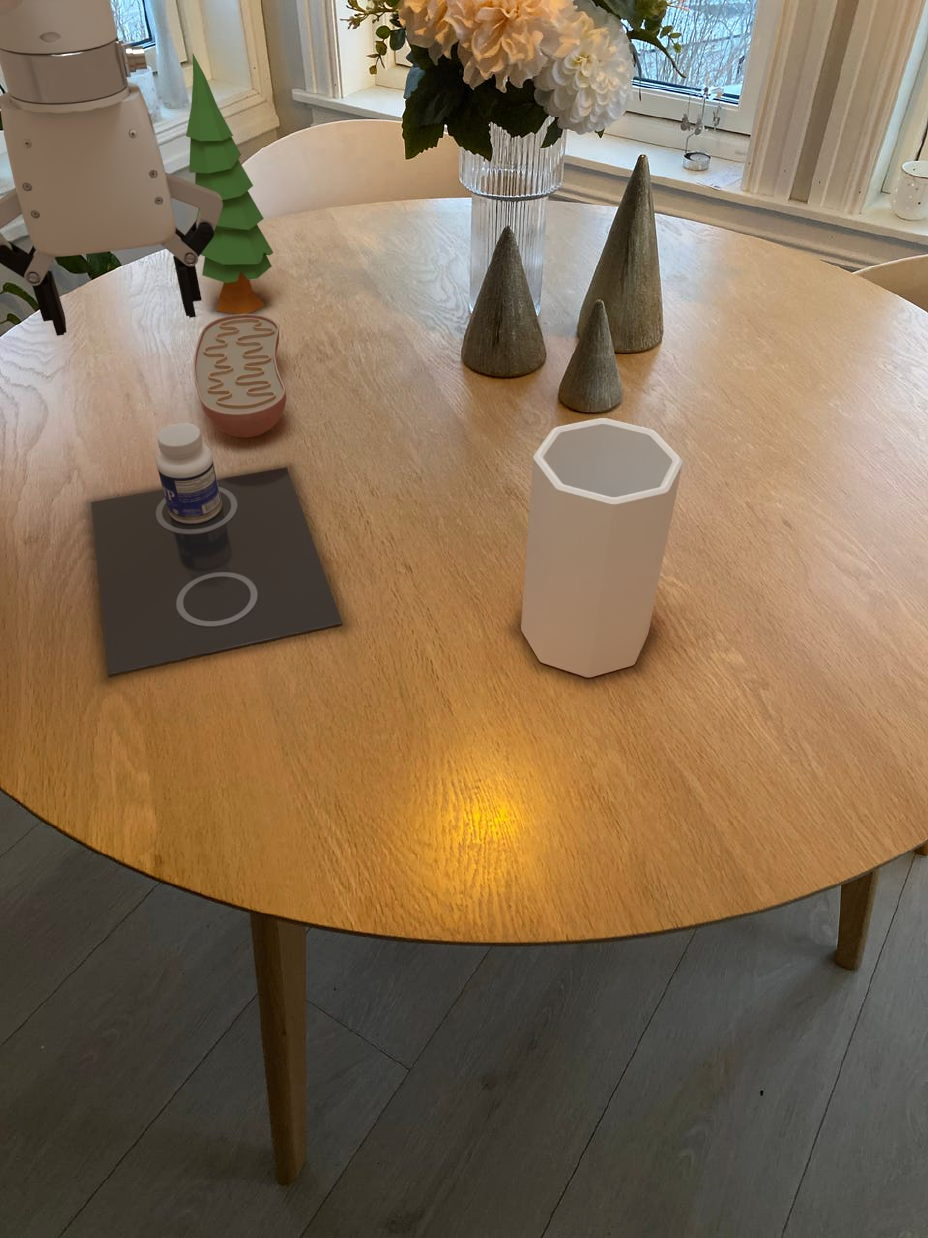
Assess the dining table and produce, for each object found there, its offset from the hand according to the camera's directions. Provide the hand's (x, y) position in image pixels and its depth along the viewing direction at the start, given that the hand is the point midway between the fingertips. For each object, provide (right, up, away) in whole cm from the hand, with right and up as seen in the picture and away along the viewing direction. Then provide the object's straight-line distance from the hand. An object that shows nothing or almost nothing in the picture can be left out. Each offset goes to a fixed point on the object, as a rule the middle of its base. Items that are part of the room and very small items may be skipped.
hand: (126, 318), depth 74 cm
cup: (+37, -25, +10) cm, 45 cm away
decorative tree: (-3, +19, +55) cm, 58 cm away
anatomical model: (+1, +2, +38) cm, 38 cm away
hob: (+2, -18, +17) cm, 24 cm away
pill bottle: (-1, -12, +22) cm, 25 cm away
